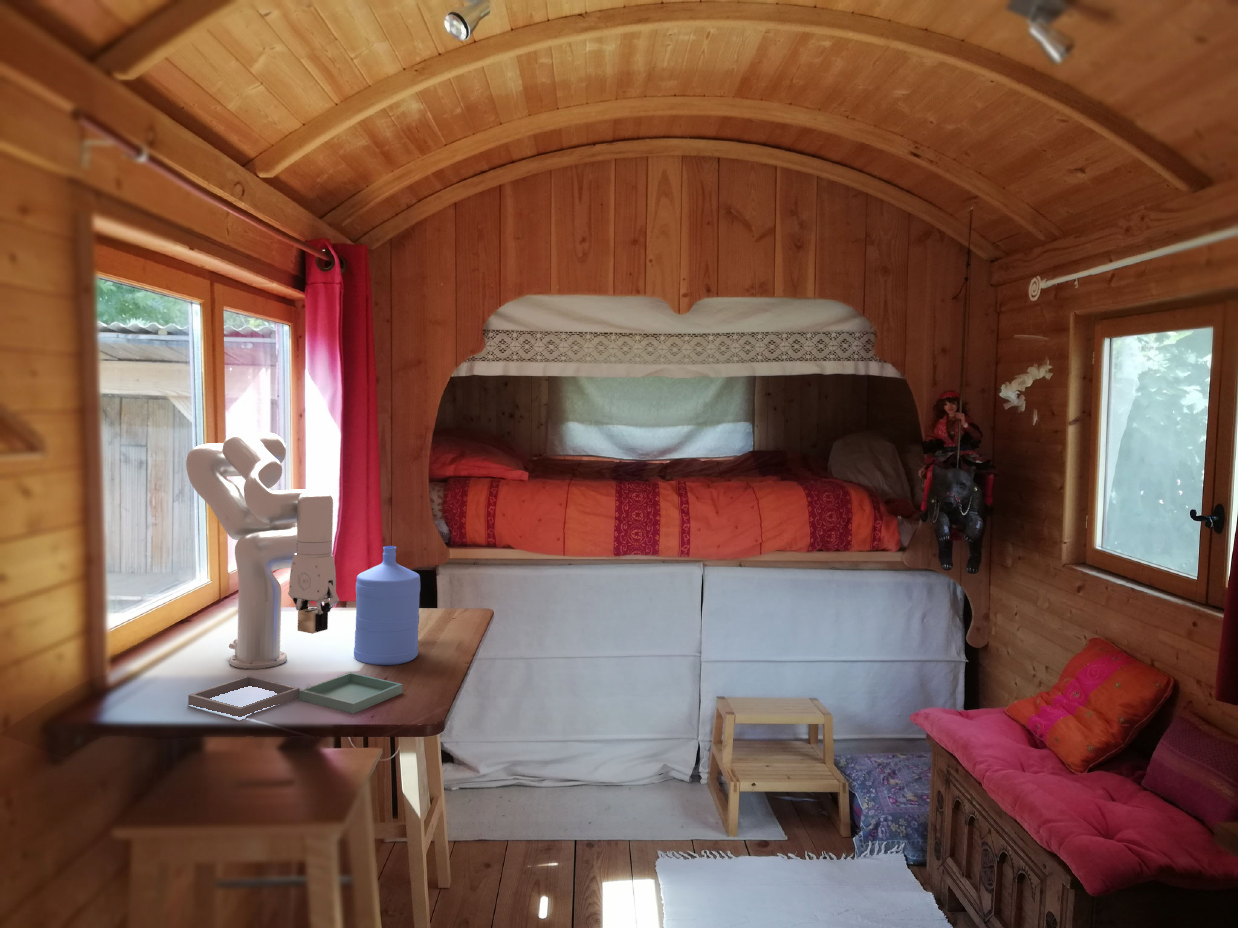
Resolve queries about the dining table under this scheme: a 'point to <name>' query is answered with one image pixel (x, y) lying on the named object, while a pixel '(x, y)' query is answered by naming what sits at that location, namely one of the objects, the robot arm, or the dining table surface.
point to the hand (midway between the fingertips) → (312, 627)
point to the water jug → (387, 613)
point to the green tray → (350, 692)
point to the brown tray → (203, 697)
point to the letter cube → (307, 620)
